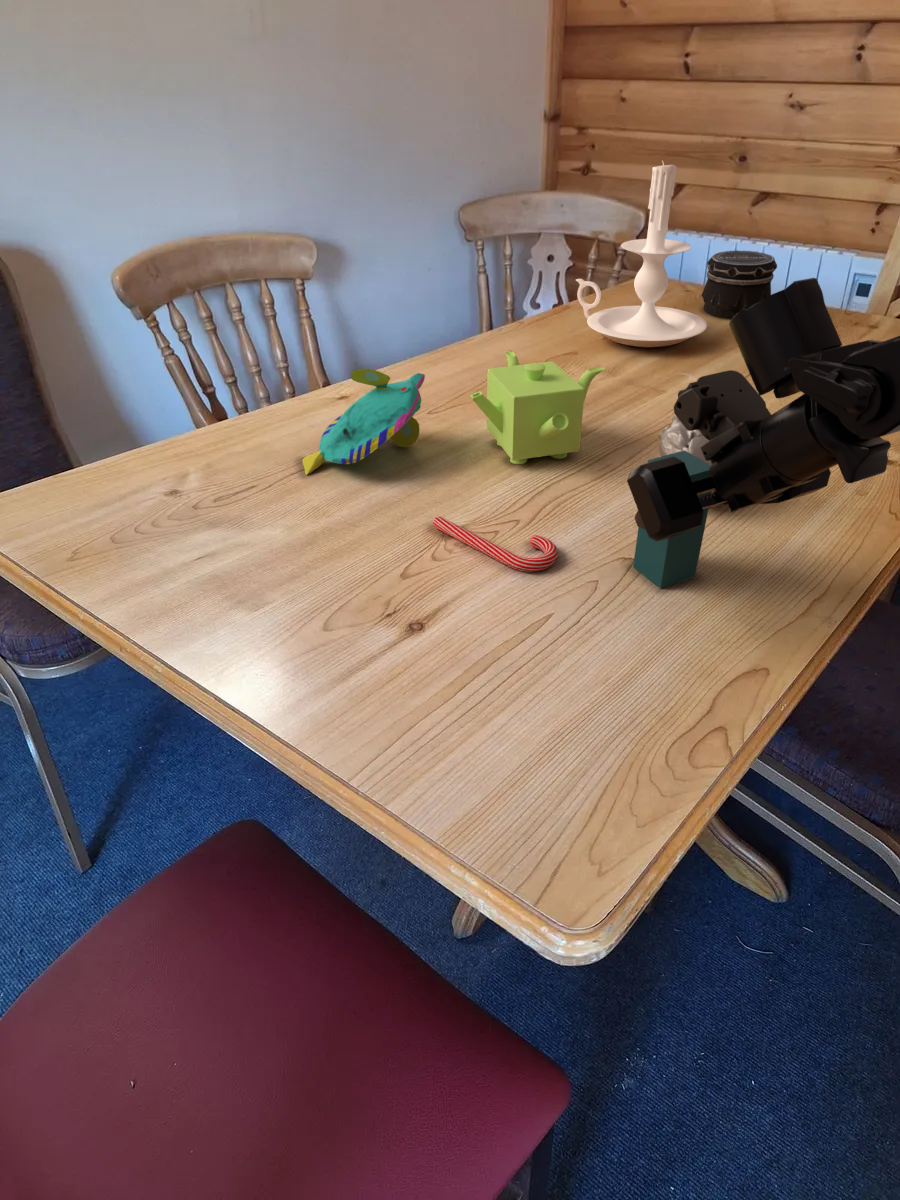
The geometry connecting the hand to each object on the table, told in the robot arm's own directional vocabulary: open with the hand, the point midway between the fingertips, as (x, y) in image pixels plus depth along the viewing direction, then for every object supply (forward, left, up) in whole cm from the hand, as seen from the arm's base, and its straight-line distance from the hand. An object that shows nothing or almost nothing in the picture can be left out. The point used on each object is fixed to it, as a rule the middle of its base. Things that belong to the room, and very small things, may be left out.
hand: (676, 510), depth 74 cm
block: (0, 0, -7) cm, 7 cm away
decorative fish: (+41, -12, -7) cm, 44 cm away
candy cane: (+18, +2, -7) cm, 20 cm away
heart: (0, -16, -7) cm, 18 cm away
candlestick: (+21, -73, -7) cm, 77 cm away
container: (+7, -96, -7) cm, 97 cm away
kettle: (+22, -23, -7) cm, 33 cm away
